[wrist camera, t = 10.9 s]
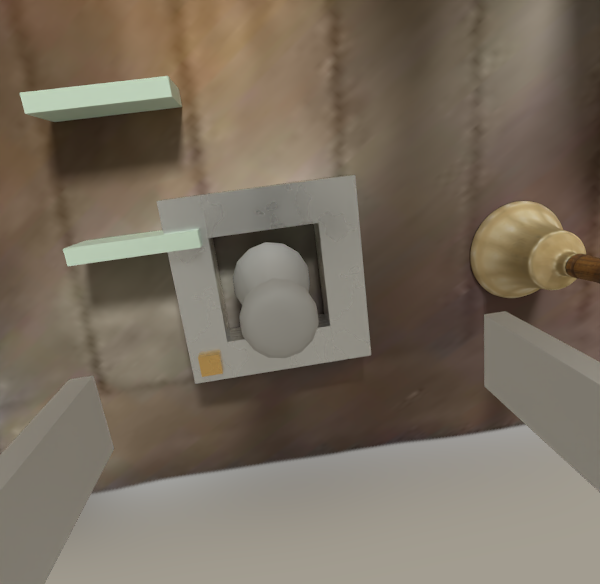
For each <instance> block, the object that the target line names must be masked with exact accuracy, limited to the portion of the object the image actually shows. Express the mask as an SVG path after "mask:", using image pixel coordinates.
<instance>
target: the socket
mask: <svg viewBox="0 0 600 584" xmlns="http://www.w3.org/2000/svg"><path fill="white" fill-rule="evenodd" d="M157 205H158V210H159V215H160V219H161V224H162V229H163V233H172V232H179V231H186V230H193V229H199V231H200V236H201V241H202V246H201V248H194V249H187V250H179V251H172V252H168V257H169V262H170V267H171V271H172V276H173V281H174V285H175V290H176V295H177V300H178V304H179V309H180V314H181V318H182V323H183V328H184V333H185V337H186V342H187V347H188V352H189V356H190V361H191V366H192V370H193V375H194V380H195V384H197V383H203V382H209V381H216V380H222V379H228V378H234V377H240V376H246V375H253V374H259V373H265V372H271V371H277V370H283V369H290V368H296V367H302V366H308V365H314V364H320V363H327V362H333V361H339V360H345V359H351V358H357V357H364V356H370V355H371V347H370V336H369V325H368V313H367V302H366V291H365V280H364V268H363V257H362V246H361V235H360V223H359V212H358V201H357V190H356V178H355V175H345V176H338V177H330V178H322V179H315V180H307V181H300V182H292V183H285V184H277V185H270V186H262V187H255V188H247V189H240V190H232V191H224V192H217V193H209V194H202V195H194V196H187V197H179V198H172V199H165V200H160V201H157ZM313 223H314V232H315V240H316V249H317V257H318V266H319V274H320V283H321V291H322V300H323V308H324V314H322V315H318V320H319V323H318V327H317V330H316V333H315V335H314V338H313V341H312V342H311V343H310V344H309V345H308V346H307V347H306V348H305V349H304V350H303V351H302V352H301V353H298V354H295V355H293V356H290V357H288V358H268V357H266V356H264V355H262V354H260V353H258V352H257V351H255V350H253V348H252V347H251V346H250V345H249V343H248V342H247V341H246V340H245V338H244V337H243V335H242V331H241V327H238V328H232V329H229V323H228V318H227V312H226V307H225V301H224V296H223V290H222V285H221V279H220V274H219V268H218V263H217V257H216V252H215V246H214V241H213V237H220V236H227V235H235V234H242V233H249V232H256V231H263V230H270V229H278V228H285V227H292V226H299V225H306V224H313Z"/></svg>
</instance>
